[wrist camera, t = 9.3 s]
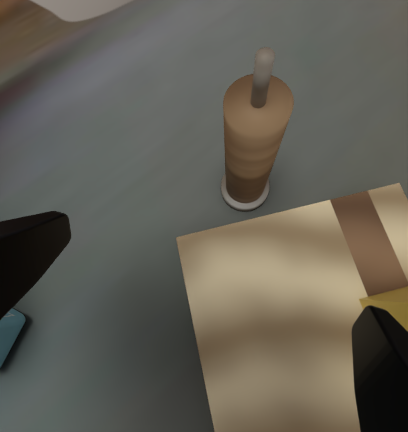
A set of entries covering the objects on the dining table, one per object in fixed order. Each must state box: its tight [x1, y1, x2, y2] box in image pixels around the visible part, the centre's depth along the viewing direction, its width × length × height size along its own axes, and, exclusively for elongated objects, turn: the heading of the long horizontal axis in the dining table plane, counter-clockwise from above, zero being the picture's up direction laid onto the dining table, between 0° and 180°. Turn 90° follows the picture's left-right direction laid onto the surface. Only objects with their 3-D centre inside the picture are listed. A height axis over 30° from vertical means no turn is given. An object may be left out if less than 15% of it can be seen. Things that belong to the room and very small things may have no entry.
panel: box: [176, 183, 408, 432], centre depth 18 cm, size 18×18×1 cm
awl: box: [221, 47, 294, 212], centre depth 16 cm, size 4×4×14 cm
